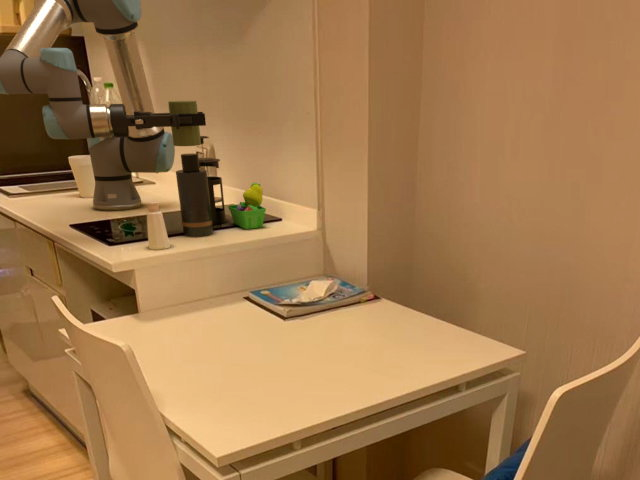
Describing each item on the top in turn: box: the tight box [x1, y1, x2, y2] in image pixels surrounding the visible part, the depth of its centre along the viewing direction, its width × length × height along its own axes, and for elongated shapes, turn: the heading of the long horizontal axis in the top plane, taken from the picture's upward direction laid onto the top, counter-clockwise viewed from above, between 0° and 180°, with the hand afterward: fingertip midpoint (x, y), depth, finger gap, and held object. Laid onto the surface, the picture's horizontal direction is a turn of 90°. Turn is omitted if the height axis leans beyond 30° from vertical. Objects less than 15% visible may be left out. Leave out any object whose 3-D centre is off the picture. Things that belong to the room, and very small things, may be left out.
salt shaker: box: [146, 200, 171, 251], centre depth 173 cm, size 5×5×11 cm
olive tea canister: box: [168, 100, 202, 147], centre depth 176 cm, size 7×7×10 cm
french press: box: [198, 135, 227, 226], centre depth 199 cm, size 12×9×23 cm
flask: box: [175, 152, 214, 238], centre depth 185 cm, size 8×8×20 cm
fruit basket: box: [227, 182, 267, 230], centre depth 196 cm, size 11×9×11 cm
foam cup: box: [67, 154, 95, 198], centre depth 245 cm, size 10×9×13 cm
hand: (204, 118), depth 177 cm, fingers closed on olive tea canister, 7 cm apart
